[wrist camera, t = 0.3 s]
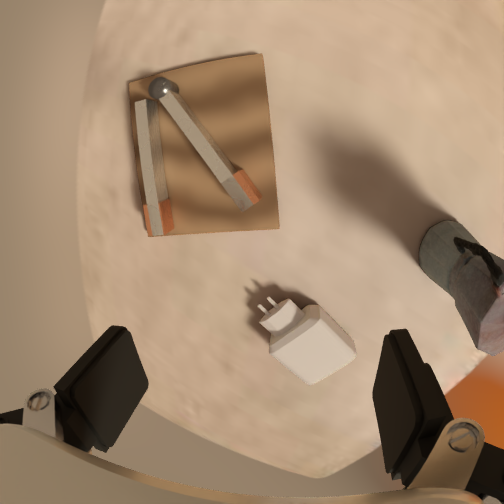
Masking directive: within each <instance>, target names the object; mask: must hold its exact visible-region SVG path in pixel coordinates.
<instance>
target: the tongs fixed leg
mask: <svg viewBox="0 0 504 504" xmlns="http://www.w3.org/2000/svg"><path fill="white" fill-rule="evenodd" d="M135 113H136V124H137V134H138V144H139V152H140V160H141V168H142V175H143V182H144V189H145V195H146V202H147V204H145V205H143V208H144V214H145V220H146V225H147V230H148V236H157V235H166V234H167V233H168V232H170V231H171V230H173V229H174V222H173V216H172V210H171V204H170V199H168V193H167V186H166V179H165V172H164V164H163V156H162V147H161V138H160V129H159V119H158V108H157V102H156V101H152V100H148V99H144V100H141V101H138V102H135Z"/></svg>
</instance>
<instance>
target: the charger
mask: <svg viewBox="0 0 504 504" xmlns="http://www.w3.org/2000/svg"><path fill="white" fill-rule="evenodd" d="M267 300H268V301H269V302H270V303H271V304H272V305H273V306H274V307H273V308H272V309H271V310H269V311H267V310H266V309H265V308H264V307H263V306H262V305H261V304H258V305H257V306H258V307H259V308H260V309H261V310H262V311H263V312H264V313H265V315H264V316H263V317H262V319H261V320H260V321H259V323H260V324H261V325H262V326H264V327H265V328H266V329H267V330H268V331H269V332H270V333H271V337H270V344H269V354H270V355H272V356H273V357H274V358H275V359H276V360H278V361H279V362H280V363H281V364H282V365H284V366H285V367H286V368H287V369H288V370H290V371H291V372H292V373H293V374H295V375H296V376H297V377H298V378H300V379H301V380H302V381H303V382H305V383H306V384H307V385H313V384H315V383H317V382H319V381H320V380H322V379H324V378H326V377H327V376H329V375H331V374H332V373H334V372H336V371H337V370H339V369H341V368H342V367H344V366H345V365H347V364H349V363H350V362H351V361H352V360H354V358H355V357H356V356H357V352H356V348H355V343H354V341H353V340H352V339H351V338H350V337H349V336H348V335H347V334H346V333H345V331H344V330H343V329H342V328H341V327H340V326H339V325H338V324H337V323H336V322H335V321H334V320H333V319H332V318H331V317H330V316H329V315H328V314H327V313H326V312H325V311H324V310H323V309H322V308H321V307H320V306H319V305H307V306H306V307H304V308H303V309H302V310H300V309H299V308H298V307H297V306H296V305H295V304H294V303H293V302H292V301H291V300H290V299H286V300H284V301H282V302H280V303H279V304H277V303H276V302H275V301H274V300H272V299H271V298H270V297H267Z"/></svg>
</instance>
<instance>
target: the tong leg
mask: <svg viewBox="0 0 504 504" xmlns="http://www.w3.org/2000/svg"><path fill="white" fill-rule="evenodd" d="M148 92H149V95H150V96H151V97H152V98H154V99H158V100H160V101H161V103H162V104H163V105H164V107H165V108H166V109H167V111H168V112H169V113H170V115H171V116H172V117H173V119H174V120H175V122H176V123H177V124H178V126H179V127H180V128H181V130H182V131H183V132H184V134H185V135H186V136H187V138H188V139H189V140H190V142H191V143H192V145H193V146H194V147H195V149H196V150H197V151H198V153H199V154H200V155H201V157H202V158H203V159H204V161H205V162H206V164H207V165H208V166H209V168H210V169H211V170H212V172H213V173H214V175H215V176H216V177H217V179H218V180H219V181H220V183H221V184H222V186H223V187H224V188H225V190H226V191H227V192H228V194H229V195H230V197H231V198H232V199H233V201H234V202H235V204H236V205H237V206H238V208H239V209H240V210H241V212H244V211H245V210H247V209H248V208H249V207H251V206H252V205H254V204H255V203H257V202H258V201H260V199H261V198H262V195H261V193H260V192H259V190H258V189H257V188H256V186H255V185H254V183H253V182H252V181H251V179H250V178H249V176H248V175H247V174H246V172H245V171H244V169H242V170H239V171H238V172H237V171H236V170H235V168H234V167H233V166H232V164H231V163H230V161H229V160H228V159H227V157H226V156H225V155H224V153H223V152H222V151H221V149H220V148H219V146H218V145H217V144H216V142H215V141H214V140H213V138H212V137H211V136H210V134H209V133H208V132H207V130H206V129H205V128H204V126H203V125H202V124H201V122H200V121H199V120H198V118H197V117H196V116H195V114H194V113H193V112H192V111H191V109H190V108H189V107H188V105H187V104H186V103H185V101H184V100H183V99H182V98H181V96H180V95H179V87H178V85H177V84H176V83H175V82H173V81H171V80H168V79H166V78H164V77H157V78H155V79H154V80H153V81H152V82H151V83H150V85H149V88H148Z"/></svg>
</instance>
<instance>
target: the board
mask: <svg viewBox="0 0 504 504" xmlns="http://www.w3.org/2000/svg"><path fill="white" fill-rule="evenodd" d="M157 77H164V78H166V79H168V80H171V81H173V82H175V83H176V84H177V85H178V87H179V95H180V96H181V98H182V99H183V100H184V101H185V103H186V104H187V105H188V107H189V108H190V109H191V111H192V112H193V113H194V114H195V116H196V117H197V118H198V120H199V121H200V122H201V124H202V125H203V126H204V128H205V129H206V130H207V132H208V133H209V134H210V136H211V137H212V138H213V140H214V141H215V142H216V144H217V145H218V146H219V148H220V149H221V151H222V152H223V153H224V155H225V156H226V157H227V159H228V160H229V161H230V163H231V164H232V166H233V167H234V168H235V170H236V171H237V172H238V171H239V170H242V169H244V171H245V172H246V174H247V175H248V176H249V178H250V179H251V181H252V182H253V183H254V185H255V186H256V188H257V189H258V190H259V192H260V193H261V195H262V198H261V199H260V201H258V202H257V203H255V204H254V205H252V206H251V207H249V208H248V209H247V210H245V211H244V212H241V210H240V209H239V208H238V206H237V205H236V204H235V202H234V201H233V199H232V198H231V197H230V195H229V194H228V192H227V191H226V190H225V188H224V187H223V186H222V184H221V183H220V181H219V180H218V179H217V177H216V176H215V175H214V173H213V172H212V170H211V169H210V168H209V166H208V165H207V164H206V162H205V161H204V159H203V158H202V157H201V155H200V154H199V153H198V151H197V150H196V149H195V147H194V146H193V145H192V143H191V142H190V140H189V139H188V138H187V136H186V135H185V134H184V132H183V131H182V130H181V128H180V127H179V126H178V124H177V123H176V122H175V120H174V119H173V117H172V116H171V115H170V113H169V112H168V111H167V109H166V108H165V107H164V105H163V104H162V103H161V101H160V100H158V99H154V98H152V97H151V96H150V95H149V92H148V88H149V85H150V83H151V82H152V81H153V80H154V79H155V78H157ZM129 93H130V108H131V120H132V131H133V140H134V149H135V157H136V165H137V173H138V180H139V186H140V193H141V199H142V205H145V204H147V202H146V195H145V189H144V182H143V175H142V168H141V160H140V152H139V144H138V134H137V124H136V113H135V102H138V101H141V100H144V99H148V100H152V101H156V102H157V108H158V119H159V129H160V138H161V147H162V156H163V164H164V172H165V179H166V186H167V193H168V199H170V204H171V210H172V216H173V222H174V229H173V230H171V231H170V232H168V233H167V234H166V235H157V236H169V235H184V234H199V233H215V232H232V231H250V230H269V229H279V213H278V200H277V188H276V177H275V165H274V154H273V144H272V133H271V123H270V114H269V104H268V95H267V86H266V77H265V69H264V61H263V55H262V54H254V55H246V56H239V57H233V58H226V59H221V60H215V61H210V62H205V63H200V64H196V65H191V66H187V67H183V68H179V69H175V70H171V71H167V72H164V73H160V74H156V75H153V76H150V77H146V78H143V79H140V80H137V81H134V82H131V83H129ZM143 211H144V208H143ZM144 217H145V214H144ZM145 222H146V220H145ZM146 227H147V225H146ZM147 233H148V230H147ZM148 237H155V236H148Z"/></svg>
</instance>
